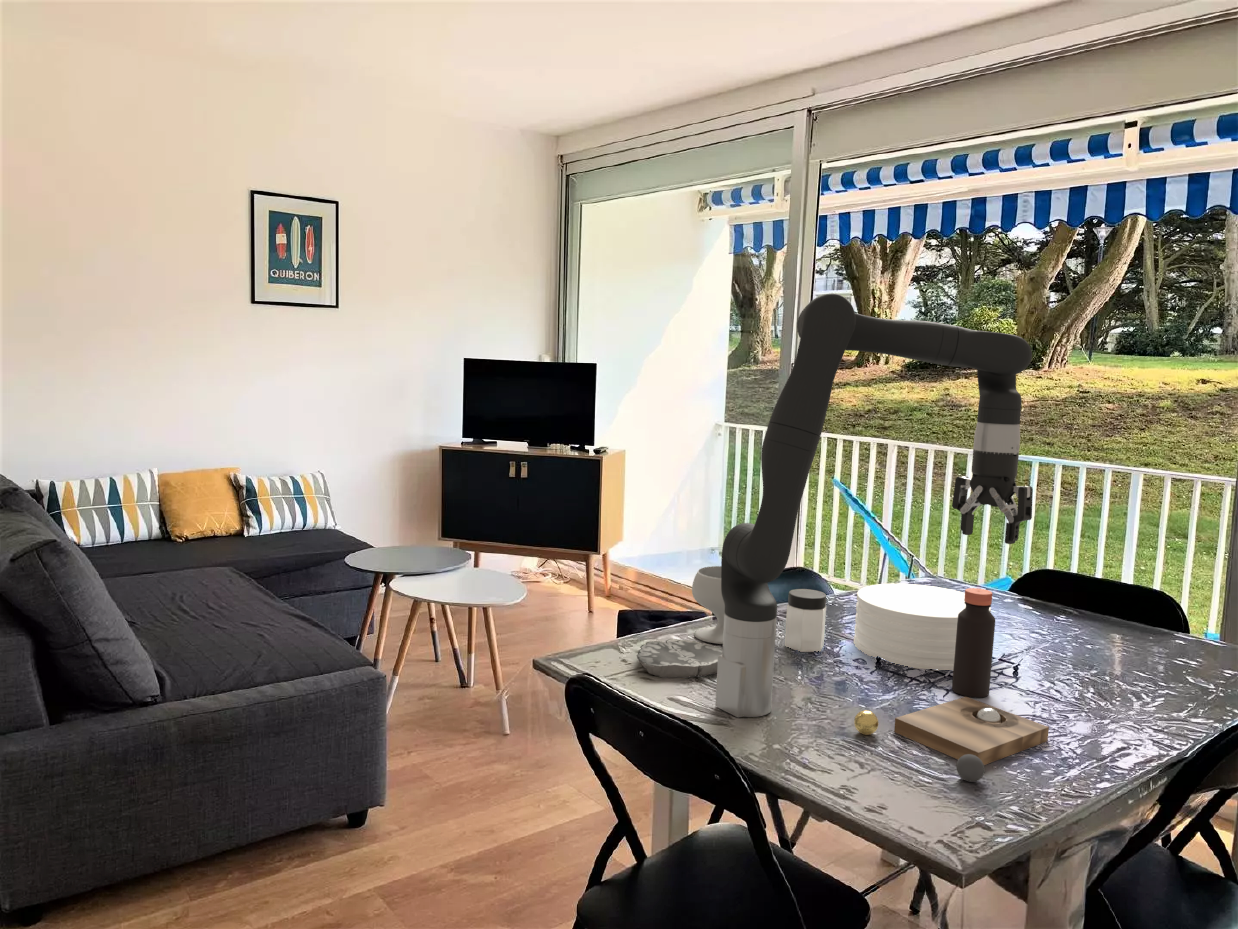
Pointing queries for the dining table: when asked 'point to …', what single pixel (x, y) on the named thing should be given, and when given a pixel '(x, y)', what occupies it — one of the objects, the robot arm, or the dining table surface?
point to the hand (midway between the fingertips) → (988, 538)
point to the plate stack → (909, 624)
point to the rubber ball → (970, 768)
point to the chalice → (710, 602)
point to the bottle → (974, 645)
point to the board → (970, 730)
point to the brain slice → (679, 658)
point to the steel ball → (989, 715)
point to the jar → (805, 620)
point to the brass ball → (866, 722)
